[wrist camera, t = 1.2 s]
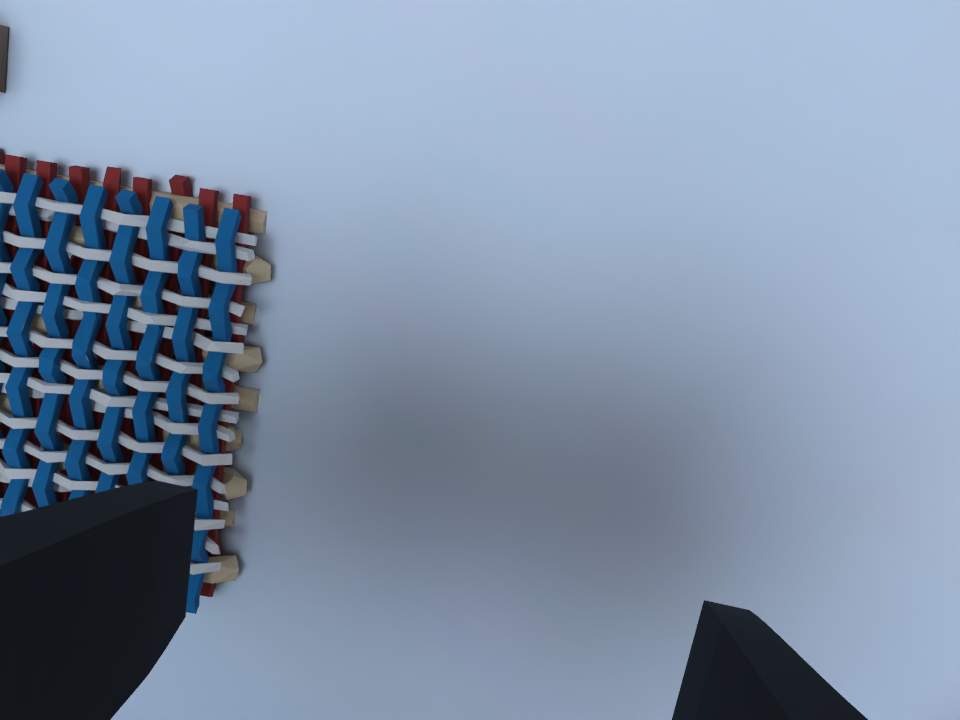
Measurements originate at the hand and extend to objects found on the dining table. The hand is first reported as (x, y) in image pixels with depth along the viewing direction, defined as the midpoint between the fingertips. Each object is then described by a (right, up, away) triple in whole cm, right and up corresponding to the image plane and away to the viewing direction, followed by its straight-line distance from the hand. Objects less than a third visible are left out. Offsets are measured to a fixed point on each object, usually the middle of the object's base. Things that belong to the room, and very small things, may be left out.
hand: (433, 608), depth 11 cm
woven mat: (-10, +3, +10) cm, 15 cm away
